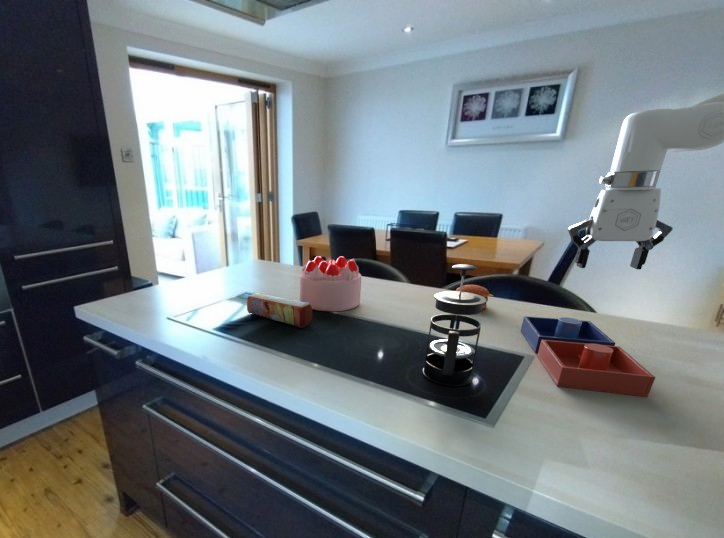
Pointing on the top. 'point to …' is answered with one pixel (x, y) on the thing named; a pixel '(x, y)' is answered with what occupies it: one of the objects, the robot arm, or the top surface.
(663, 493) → the top surface
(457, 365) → the french press
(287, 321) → the snack package
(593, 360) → the red block
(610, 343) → the blue bin
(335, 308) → the cake
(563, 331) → the blue cylinder
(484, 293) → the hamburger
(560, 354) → the red bin
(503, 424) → the top surface
